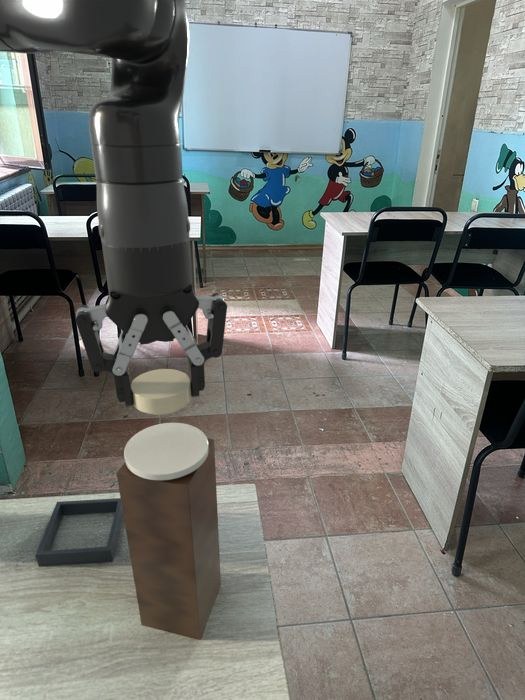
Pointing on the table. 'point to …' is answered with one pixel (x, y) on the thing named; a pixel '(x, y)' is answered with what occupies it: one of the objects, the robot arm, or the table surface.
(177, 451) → the bottom plate
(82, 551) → the bin
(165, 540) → the riser box
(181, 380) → the top plate
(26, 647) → the table surface
